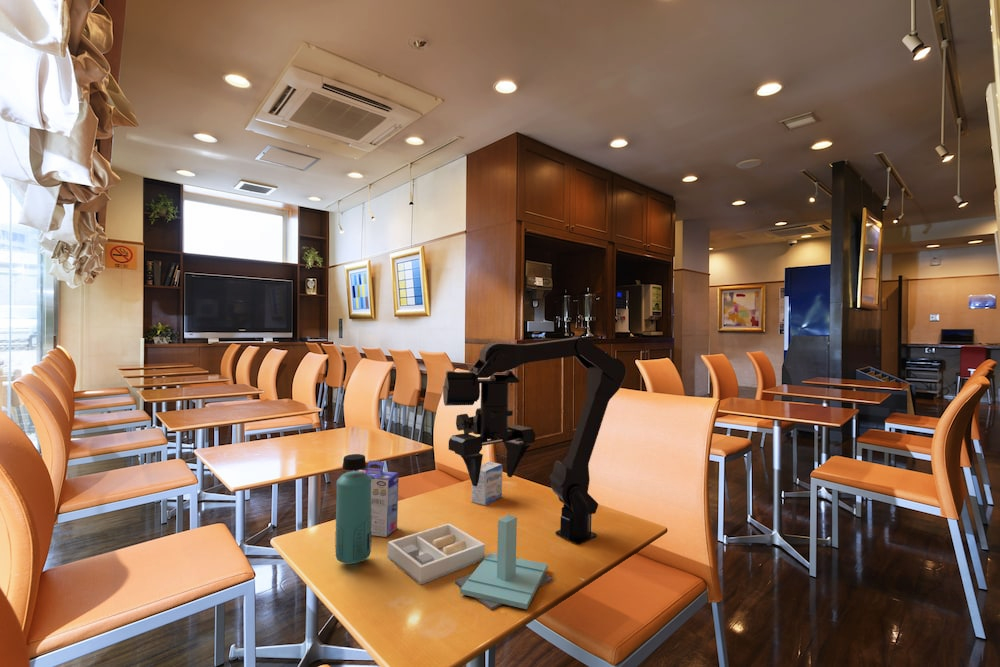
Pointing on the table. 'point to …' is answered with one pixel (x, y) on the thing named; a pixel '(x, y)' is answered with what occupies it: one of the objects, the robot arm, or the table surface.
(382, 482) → the ink cartridge box
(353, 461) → the beverage bottle
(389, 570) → the table surface
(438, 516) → the table surface
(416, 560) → the tub
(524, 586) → the lid
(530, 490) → the table surface
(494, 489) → the medicine box
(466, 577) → the mat
